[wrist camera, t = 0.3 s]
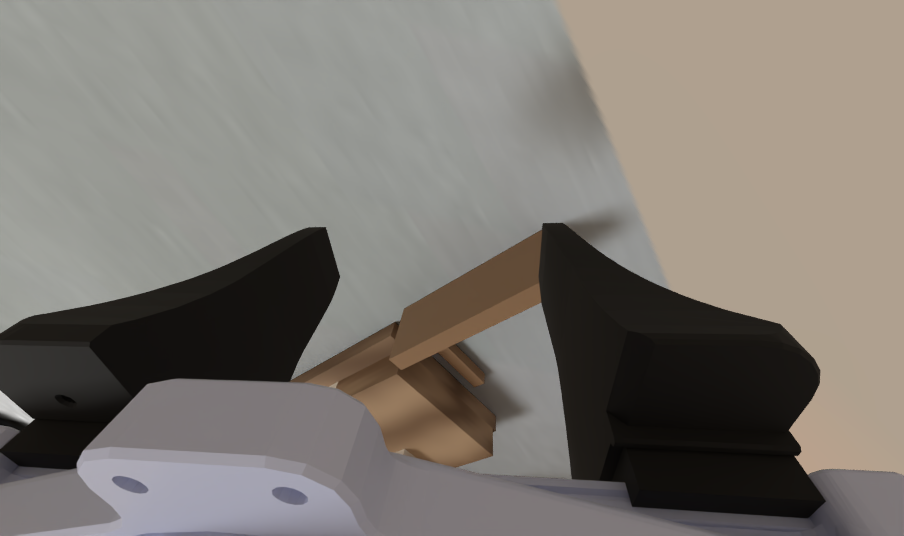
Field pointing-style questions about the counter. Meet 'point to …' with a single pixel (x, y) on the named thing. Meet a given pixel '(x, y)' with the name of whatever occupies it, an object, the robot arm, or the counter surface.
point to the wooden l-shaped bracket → (469, 308)
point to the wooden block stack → (411, 402)
